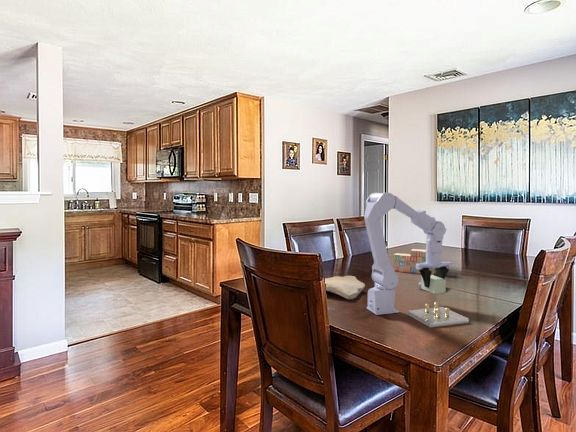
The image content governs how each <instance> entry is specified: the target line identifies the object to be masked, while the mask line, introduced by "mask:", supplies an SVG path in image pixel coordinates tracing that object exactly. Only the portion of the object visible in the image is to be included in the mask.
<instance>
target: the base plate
mask: <svg viewBox="0 0 576 432" xmlns="http://www.w3.org/2000/svg"><path fill="white" fill-rule="evenodd" d="M433 303H434V304H433V306H434V307H431V308H430V304H429V303H427V302H426V303H425V308H422V309H421V308H420V309H413V310H412V309H411V310H410V309H409V310H407V314H406V315H407V316H409V317H411V318H412V319H415V320H416V321H418V322H419V323H421V324H423V325H425V326H427V327H428V328H436V327H437V328H439V327H444V326H446V327H447V326H454V325H460V324H461V325H462V324H469V320H470V319H469V317H466V316H464V315H462V314H459V313H457V312H456V311H453V310H451V309H450V307H444V306H439V303H438V302H433Z"/></svg>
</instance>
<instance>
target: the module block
mask: <svg viewBox="0 0 576 432" xmlns="http://www.w3.org/2000/svg"><path fill="white" fill-rule="evenodd" d="M420 279H421V281H420V282H421V288H422V289H424V290H423V291H425V290H427V292H428V293H429V292H430V293H431V294H443V293H446V292H447V291H446V290H447V289H446V288H447V287H446V286H447V281H446V280H447V279H446V278H444V279H443V278H440V277H437V276H436V275H435V274H434V275H431V277H430V287H429V288H427V287H425V286H424V281H423V278H422V275H421V277H420Z"/></svg>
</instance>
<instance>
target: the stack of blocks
mask: <svg viewBox="0 0 576 432" xmlns="http://www.w3.org/2000/svg"><path fill="white" fill-rule="evenodd" d="M424 262H426V249H418V248H412V249H411V250H410V254H409V253H401V252H400V253H397V252H395V253H394V254H393V264H392V266H393V267H394V270H395V272H400V273H401V272H402V273H409V274H410V273H411V274H419V275H421V273H420V271H419V269H416V264H418V263H424ZM429 270H430V271H432V273H431V275H434V276H435V275H436V270H435V268H429Z"/></svg>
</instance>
